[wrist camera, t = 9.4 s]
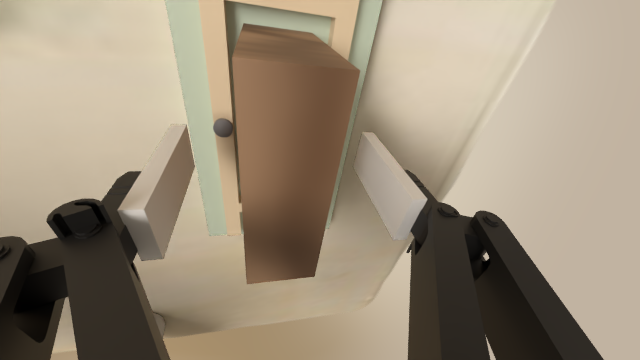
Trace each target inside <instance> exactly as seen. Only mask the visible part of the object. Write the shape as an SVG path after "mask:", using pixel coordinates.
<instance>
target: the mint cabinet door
mask: <svg viewBox="0 0 640 360" xmlns="http://www.w3.org/2000/svg"><path fill="white" fill-rule="evenodd" d="M382 1H383V0H165V4H166V9H167V14H168V20H169V25H170V30H171V35H172V41H173V46H174V51H175V56H176V62H177V67H178V72H179V78H180V83H181V88H182V93H183V99H184V104H185V109H186V114H187V120H188V125H189V130H190V136H191V141H192V146H193V151H194V157H195V162H196V167H197V172H198V178H199V183H200V188H201V194H202V199H203V204H204V209H205V215H206V220H207V225H208V230H209V236H218V235H228V236H235V235H241V234H244V232H243V217H242V202H241V187H240V172H239V156H238V141H237V126H236V111H235V95H234V80H233V65H232V55H233V53H234V50H235V47H236V44H237V41H238V38H239V35H240V32H241V29H242V27H243V24H244V23H246V24H253V25H261V26H268V27H275V28H282V29H289V30H296V31H303V32H311V33H313V34H314V35H316V36H317V37H318V38H319V39H321V40H322V41H323V42H324V43H326V44H327V45H328V46H330V47H331V48H332V49H333V50H335V51H336V52H337V53H339V54H340V55H341V56H342V57H344V58H345V59H346V60H347V61H349V62H350V63H351V64H353V65H354V66H355V67H356V68H358V69H359V70H360V75H359V79H358V84H357V88H356V93H355V97H354V102H353V106H352V111H351V115H350V120H349V124H348V129H347V133H346V137H345V142H344V146H343V151H342V155H341V160H340V164H339V169H338V173H337V178H336V182H335V187H334V191H333V196H332V200H331V205H330V209H329V214H328V218H327V222H326V227H325V229H329V226H330V221H331V217H332V213H333V209H334V204H335V200H336V196H337V192H338V187H339V183H340V179H341V175H342V171H343V166H344V162H345V158H346V154H347V149H348V145H349V141H350V137H351V132H352V128H353V124H354V120H355V116H356V111H357V107H358V103H359V99H360V94H361V90H362V86H363V82H364V77H365V73H366V69H367V65H368V61H369V56H370V52H371V48H372V44H373V39H374V35H375V31H376V27H377V22H378V18H379V14H380V10H381V6H382Z"/></svg>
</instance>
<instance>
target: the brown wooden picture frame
mask: <svg viewBox="0 0 640 360" xmlns="http://www.w3.org/2000/svg"><path fill="white" fill-rule="evenodd" d="M232 65H233V80H234V95H235V111H236V126H237V141H238V156H239V172H240V187H241V202H242V217H243V232H244V248H245V263H246V278H247V284H252V283H261V282H270V281H279V280H288V279H297V278H306V277H314V276H315V272H316V267H317V263H318V258H319V254H320V249H321V245H322V240H323V236H324V231H325V227H326V222H327V218H328V214H329V209H330V205H331V200H332V196H333V191H334V187H335V182H336V178H337V173H338V169H339V164H340V160H341V155H342V151H343V146H344V142H345V137H346V133H347V129H348V124H349V120H350V115H351V111H352V106H353V102H354V97H355V93H356V88H357V84H358V79H359V75H360V70H359V69H358V68H356V67H355V66H354V65H353V64H351V63H350V62H349V61H347V60H346V59H345V58H344V57H342V56H341V55H340V54H339V53H337V52H336V51H335V50H333V49H332V48H331V47H330V46H328V45H327V44H326V43H324V42H323V41H322V40H321V39H319V38H318V37H317V36H316V35H314V34H313V33H311V32H303V31H296V30H289V29H282V28H275V27H268V26H261V25H253V24H246V23H244V24H243V27H242V29H241V32H240V35H239V38H238V41H237V44H236V47H235V50H234V53H233V55H232Z"/></svg>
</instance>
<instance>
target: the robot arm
mask: <svg viewBox="0 0 640 360" xmlns="http://www.w3.org/2000/svg"><path fill="white" fill-rule="evenodd" d="M194 168H195V165H194V160H193V155H192V150H191V144H190V139H189V134H188V129H187V125H178V124H171V125H170V127H169V128H168V130H167V131H166V133H165V135H164V136H163V138H162V139H161V141H160V143H159V144H158V146H157V147H156V149H155V151H154V152H153V154H152V155H151V157H150V159H149V160H148V162H147V163H146V165H145V167H144V168H143V170H142V171H135V172H127V173H125V174H124V175H122V176H121V177H119V178H118V179H117V180H116V182H115V183H114V184H113V186H112V188H111V189H110V190H109V191H108V193H107V195H106V196H105V197H104V198H103V200H102V201H99V200H96V199H80V200H75V201H71V202H69V203H66V204H63V205H61V206H60V207H58V208H56V209H55V210H53V211H52V212H51V213H50V214H49V215H48V218H47V221H46V222H47V223H48V224H49V226H50V227H51V228H52V230H53V231H54V233H55V234H56V235H57V237H58V238H54V239H50V240H46V241H42V242H38V243H34V244H30V245H28V244H27V243H26V242H25V241H24V240H23V239H22V238H20V237H14V236H10V237H1V238H0V360H50V358H51V354H52V350H53V346H54V341H55V337H56V333H57V329H58V325H59V321H60V317H61V313H62V308H63V304H64V300H65V297H68V296H69V302H70V309H71V315H72V322H73V328H74V335H75V341H76V348H77V355H78V360H170V358H169V355H168V353H167V349H166V347H165V344H164V341H163V339H162V336H161V333H160V331H159V328H158V325H157V323H156V320H155V317H154V315H153V312H152V309H151V307H150V304H149V301H148V299H147V296H146V293H145V291H144V288H143V285H142V283H141V280H140V278H139V275H138V272H137V270H136V267H135V265H134V263H133V260H134V258H135V256H136V254H137V252H138V255H139V257H140V259H141V261H144V260H157V259H163V258H164V255H165V252H166V250H167V247H168V244H169V241H170V238H171V235H172V232H173V229H174V226H175V223H176V220H177V217H178V214H179V211H180V209H181V206H182V203H183V200H184V197H185V194H186V191H187V188H188V185H189V182H190V179H191V176H192V173H193V170H194ZM353 168H354V170H355V172H356V173H357V175H358V177H359V179H360V181H361V183H362V184H363V186H364V188H365V190H366V192H367V194H368V195H369V197H370V199H371V201H372V203H373V205H374V206H375V208H376V210H377V212H378V214H379V216H380V217H381V219H382V221H383V223H384V225H385V227H386V228H387V230H388V232H389V234H390V236H391V238H392V239H393V240H404V239H407V237H408V235H409V233H410V231H411V232H412V234H413V235H414V239H413V241H412V242H411V244H410V246H409V248H408V250H407V253H409V252H410V250H412V251H411V280H410V309H409V340H408V341H409V342H408V360H490V355H489V351H488V346H487V341H486V337H487V339H488V342H489V344H490V346H491V349H492V351H493V353H494V356H495V358H496V360H603V358H602V357H601V355H600V354H599V353H598V351H597V350H596V348H595V347H594V346H593V344H592V343H591V341H590V340H589V339H588V337H587V336H586V334H585V333H584V332H583V330H582V329H581V328H580V326H579V325H578V324H577V322H576V321H575V319H574V318H573V317H572V315H571V314H570V312H569V311H568V310H567V308H566V307H565V305H564V304H563V303H562V301H561V300H560V299H559V297H558V296H557V295H556V293H555V292H554V290H553V289H552V288H551V286H550V285H549V283H548V282H547V281H546V279H545V278H544V276H543V275H542V274H541V272H540V271H539V270H538V268H537V267H536V265H535V264H534V263H533V261H532V260H531V258H530V257H529V256H528V254H527V253H526V252H525V250H524V249H523V248H522V246H521V245H520V243H519V242H518V241H517V239H516V238H515V236H514V235H513V234H512V232H511V231H510V229H509V228H508V227H507V225H506V224H505V223H504V222H503V221H502V219H500V218H499V217H498V216H497V215H495V214H493V213H490V212H487V211H478V212H476V214H475V215H474V217H473V218H472V217H467V216H462V215H460V214H459V212H458V211H457V210H456V209H455V208H453V207H451V206H450V205H447V204H445V203H441V202H438V201H437V200H436V199H435V198H434V197H433V196H432V194H431V193H430V192H429V191H428V190H427V189H426V187H424V185H423V184H422V183H421V182H420V180H419V179H418V178H417V177H416V176H415V175H414V174H412V173H411V172H410V171H408V170H403V168H402V167H401V166H400V165H399V164H398V162H397V161H396V160H395V159H394V157H393V156H392V155H391V154H390V153H389V151H388V150H387V149H386V148H385V146H384V145H383V144H382V143H381V141H380V140H379V139H378V138H377V137H376V135H375V134H374V133H373V132H362V134H361V138H360V142H359V146H358V150H357V153H356V157H355V161H354V165H353ZM486 252H487V253H488V255H489V259H488V260H487V261H486V260H485V259H484V257H483V255H484V254H485V253H486ZM485 335H486V336H485Z"/></svg>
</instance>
